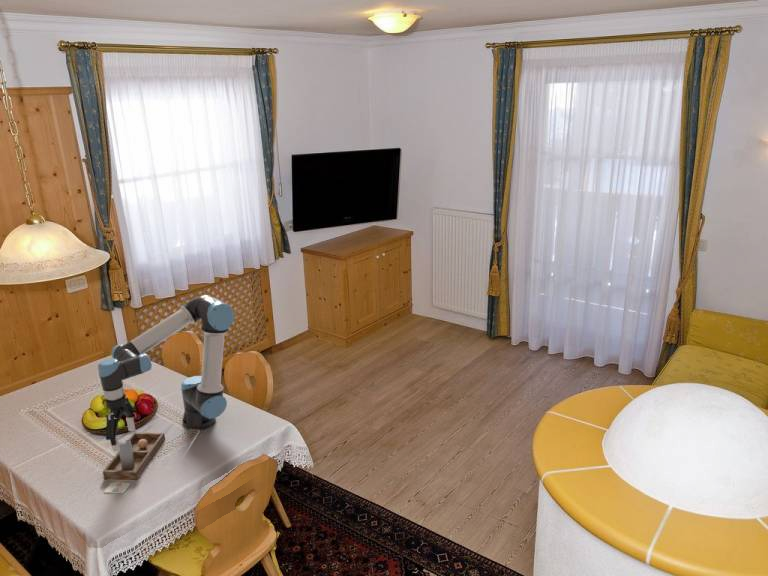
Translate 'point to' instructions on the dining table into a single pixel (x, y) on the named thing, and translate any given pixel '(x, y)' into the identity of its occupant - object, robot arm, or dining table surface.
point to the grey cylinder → (126, 455)
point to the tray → (135, 457)
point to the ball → (142, 443)
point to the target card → (117, 488)
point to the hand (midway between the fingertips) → (124, 440)
